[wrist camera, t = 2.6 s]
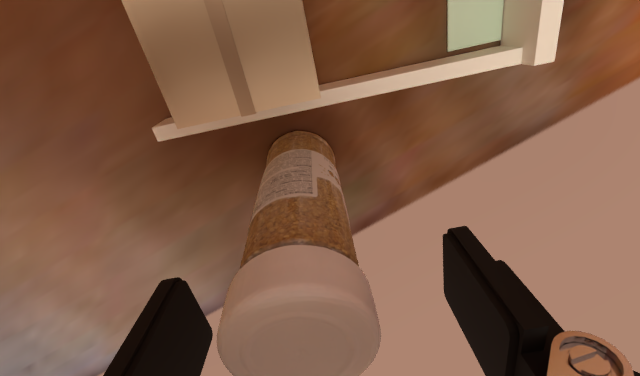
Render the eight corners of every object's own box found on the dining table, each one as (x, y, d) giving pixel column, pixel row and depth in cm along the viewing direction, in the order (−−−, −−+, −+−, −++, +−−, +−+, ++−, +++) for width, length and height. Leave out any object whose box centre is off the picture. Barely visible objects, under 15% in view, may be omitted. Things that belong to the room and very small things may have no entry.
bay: (95, -39, 15) (49, -55, 12) (536, -147, 14) (593, -189, 11) (171, 131, 19) (150, 148, 16) (516, 56, 18) (554, 61, 15)
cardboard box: (170, -24, 15) (96, -54, 9) (289, -53, 15) (282, -101, 9) (214, 100, 18) (177, 130, 12) (315, 78, 17) (321, 99, 12)
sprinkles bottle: (340, 184, 21) (392, 387, 9) (276, 198, 21) (245, 414, 9) (327, 120, 19) (373, 277, 7) (256, 136, 19) (182, 315, 7)
